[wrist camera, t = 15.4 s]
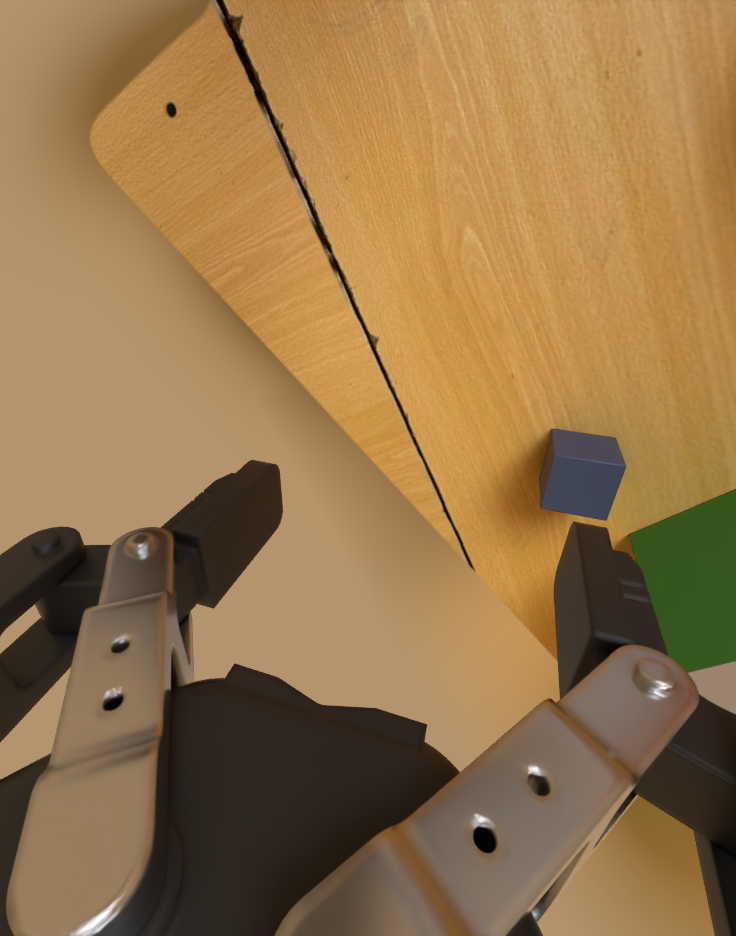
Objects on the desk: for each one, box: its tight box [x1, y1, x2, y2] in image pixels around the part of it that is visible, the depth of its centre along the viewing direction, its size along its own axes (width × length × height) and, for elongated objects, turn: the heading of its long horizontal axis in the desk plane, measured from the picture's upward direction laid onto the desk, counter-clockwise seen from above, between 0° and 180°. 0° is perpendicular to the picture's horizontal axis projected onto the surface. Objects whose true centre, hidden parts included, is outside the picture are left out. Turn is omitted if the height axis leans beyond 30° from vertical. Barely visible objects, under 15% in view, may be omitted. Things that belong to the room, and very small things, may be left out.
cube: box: [539, 429, 626, 521], centre depth 37 cm, size 5×5×5 cm
